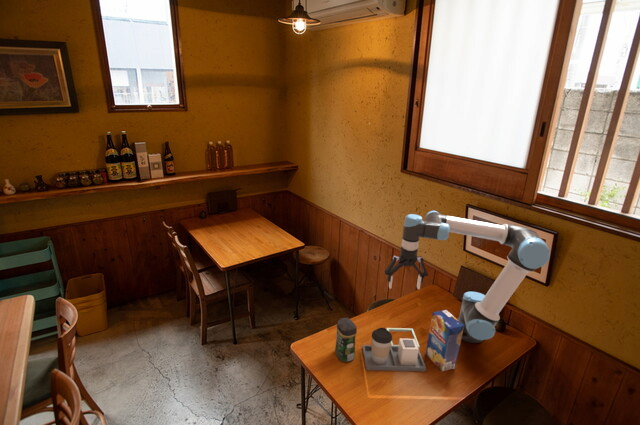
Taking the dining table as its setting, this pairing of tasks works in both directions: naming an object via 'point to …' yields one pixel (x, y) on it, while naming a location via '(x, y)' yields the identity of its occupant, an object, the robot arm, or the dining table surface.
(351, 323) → the coffee jar
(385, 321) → the dining table surface
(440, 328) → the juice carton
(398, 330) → the square frame
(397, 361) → the divided tray
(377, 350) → the coffee cup
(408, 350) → the white box
